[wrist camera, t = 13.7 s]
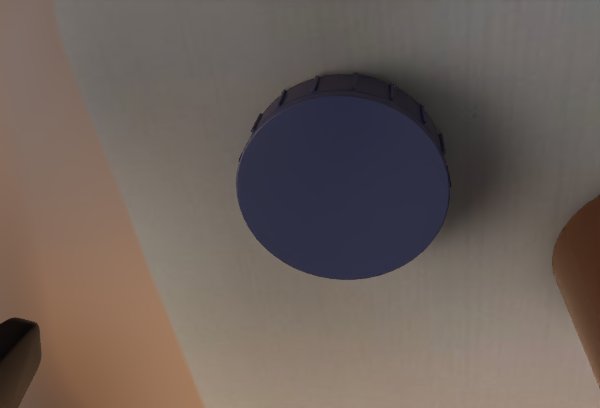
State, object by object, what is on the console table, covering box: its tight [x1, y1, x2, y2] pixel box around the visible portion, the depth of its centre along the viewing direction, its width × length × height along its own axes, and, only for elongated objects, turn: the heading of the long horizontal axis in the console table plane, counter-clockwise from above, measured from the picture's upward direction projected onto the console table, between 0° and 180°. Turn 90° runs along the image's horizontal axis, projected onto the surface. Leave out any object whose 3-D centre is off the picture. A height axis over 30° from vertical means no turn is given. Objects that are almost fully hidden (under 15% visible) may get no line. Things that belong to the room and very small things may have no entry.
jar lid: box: [236, 73, 451, 280], centre depth 18 cm, size 7×7×2 cm
